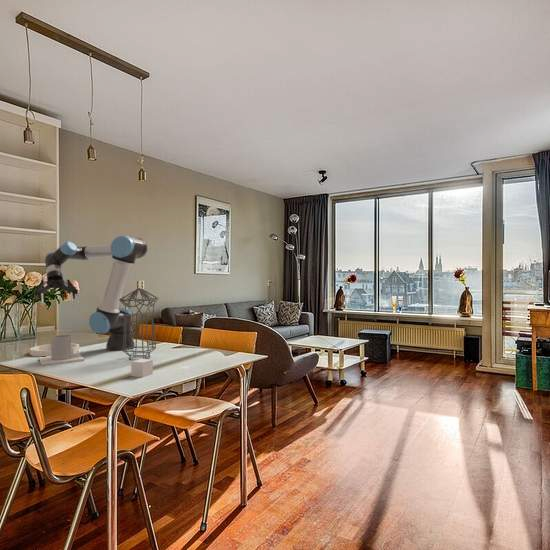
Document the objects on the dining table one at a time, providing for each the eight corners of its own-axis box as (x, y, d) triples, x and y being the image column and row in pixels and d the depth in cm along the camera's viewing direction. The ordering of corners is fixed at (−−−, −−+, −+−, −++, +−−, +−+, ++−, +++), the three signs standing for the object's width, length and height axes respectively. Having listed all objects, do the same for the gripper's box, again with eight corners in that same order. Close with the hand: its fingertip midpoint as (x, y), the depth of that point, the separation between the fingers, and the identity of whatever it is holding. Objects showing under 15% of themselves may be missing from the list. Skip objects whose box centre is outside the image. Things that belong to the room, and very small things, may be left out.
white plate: (86, 348, 233) (86, 343, 233) (64, 356, 209) (64, 350, 209) (46, 348, 233) (46, 343, 233) (20, 356, 210) (20, 350, 210)
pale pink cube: (131, 376, 166) (131, 361, 166) (141, 372, 172) (141, 358, 172) (142, 377, 164) (142, 362, 164) (152, 374, 169) (152, 359, 169)
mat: (78, 355, 212) (78, 353, 212) (84, 360, 197) (84, 358, 197) (38, 359, 202) (38, 357, 202) (41, 365, 187) (41, 363, 187)
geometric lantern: (117, 361, 195) (117, 288, 195) (131, 355, 210) (130, 287, 211) (149, 361, 194) (149, 288, 194) (161, 355, 209) (160, 287, 209)
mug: (74, 358, 199) (74, 335, 199) (56, 361, 192) (56, 337, 192) (62, 355, 206) (62, 333, 207) (45, 358, 200) (44, 335, 200)
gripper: (78, 279, 231) (83, 307, 218) (27, 280, 217) (29, 309, 205) (80, 269, 227) (85, 297, 214) (28, 270, 213) (29, 299, 200)
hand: (57, 303), depth 209 cm, fingers open, 13 cm apart
